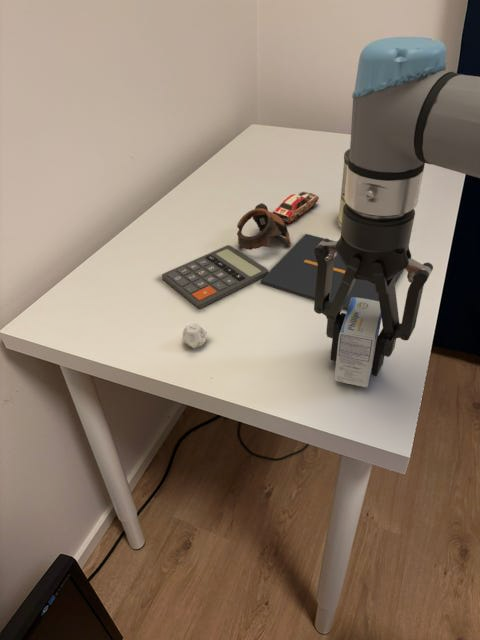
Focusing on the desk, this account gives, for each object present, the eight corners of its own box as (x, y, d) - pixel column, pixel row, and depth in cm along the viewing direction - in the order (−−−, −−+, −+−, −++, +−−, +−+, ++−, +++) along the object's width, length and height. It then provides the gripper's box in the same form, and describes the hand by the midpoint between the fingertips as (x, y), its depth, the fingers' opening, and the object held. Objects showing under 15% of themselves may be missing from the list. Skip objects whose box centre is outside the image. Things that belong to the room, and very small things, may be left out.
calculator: (160, 273, 85) (228, 243, 92) (161, 278, 85) (228, 248, 92) (198, 304, 77) (269, 269, 84) (199, 308, 78) (269, 273, 85)
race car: (269, 225, 102) (267, 207, 98) (304, 197, 107) (303, 178, 104) (288, 233, 99) (286, 214, 96) (322, 204, 104) (322, 185, 101)
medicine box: (367, 389, 63) (376, 339, 57) (333, 381, 64) (339, 332, 59) (376, 350, 68) (385, 301, 63) (344, 343, 70) (350, 295, 64)
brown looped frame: (298, 256, 90) (281, 229, 84) (253, 276, 93) (233, 251, 87) (286, 212, 97) (269, 184, 91) (245, 232, 100) (226, 206, 94)
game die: (190, 333, 74) (188, 317, 72) (211, 339, 72) (210, 324, 71) (178, 347, 71) (176, 332, 69) (200, 354, 70) (198, 339, 68)
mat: (407, 262, 86) (408, 259, 86) (373, 318, 75) (374, 315, 74) (305, 236, 95) (305, 233, 94) (260, 283, 83) (260, 280, 83)
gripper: (287, 202, 53) (284, 356, 68) (460, 239, 45) (415, 404, 60) (315, 177, 58) (307, 326, 73) (476, 207, 50) (431, 367, 65)
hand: (356, 361), depth 66 cm, fingers closed on medicine box, 5 cm apart
